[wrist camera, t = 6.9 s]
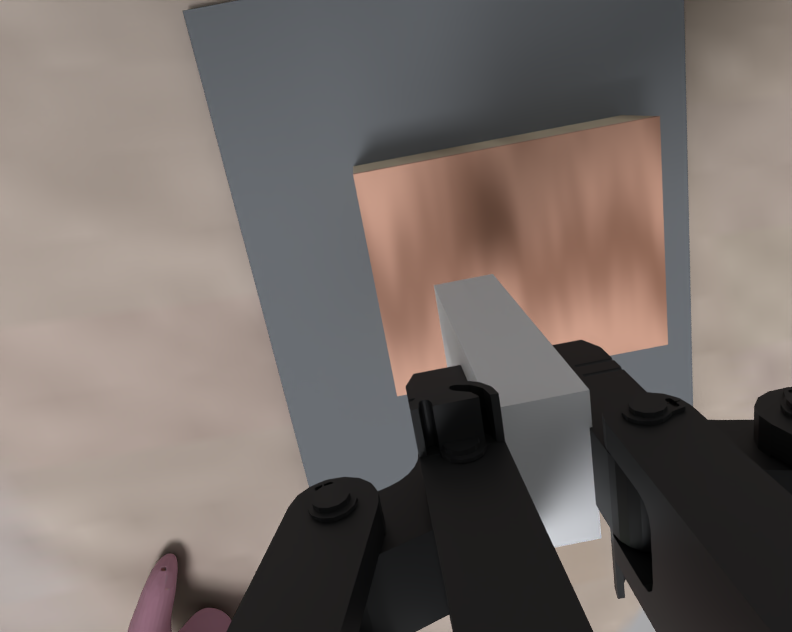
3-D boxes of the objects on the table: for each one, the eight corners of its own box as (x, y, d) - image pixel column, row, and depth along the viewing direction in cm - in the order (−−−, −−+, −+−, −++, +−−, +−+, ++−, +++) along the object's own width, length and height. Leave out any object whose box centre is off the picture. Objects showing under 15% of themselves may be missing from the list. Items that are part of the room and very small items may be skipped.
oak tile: (353, 174, 20) (659, 116, 20) (353, 166, 22) (621, 115, 23) (397, 396, 22) (668, 344, 22) (392, 363, 25) (632, 317, 25)
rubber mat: (187, 13, 21) (182, 11, 21) (673, -79, 21) (681, -84, 21) (315, 498, 28) (314, 506, 27) (686, 427, 28) (693, 433, 27)
